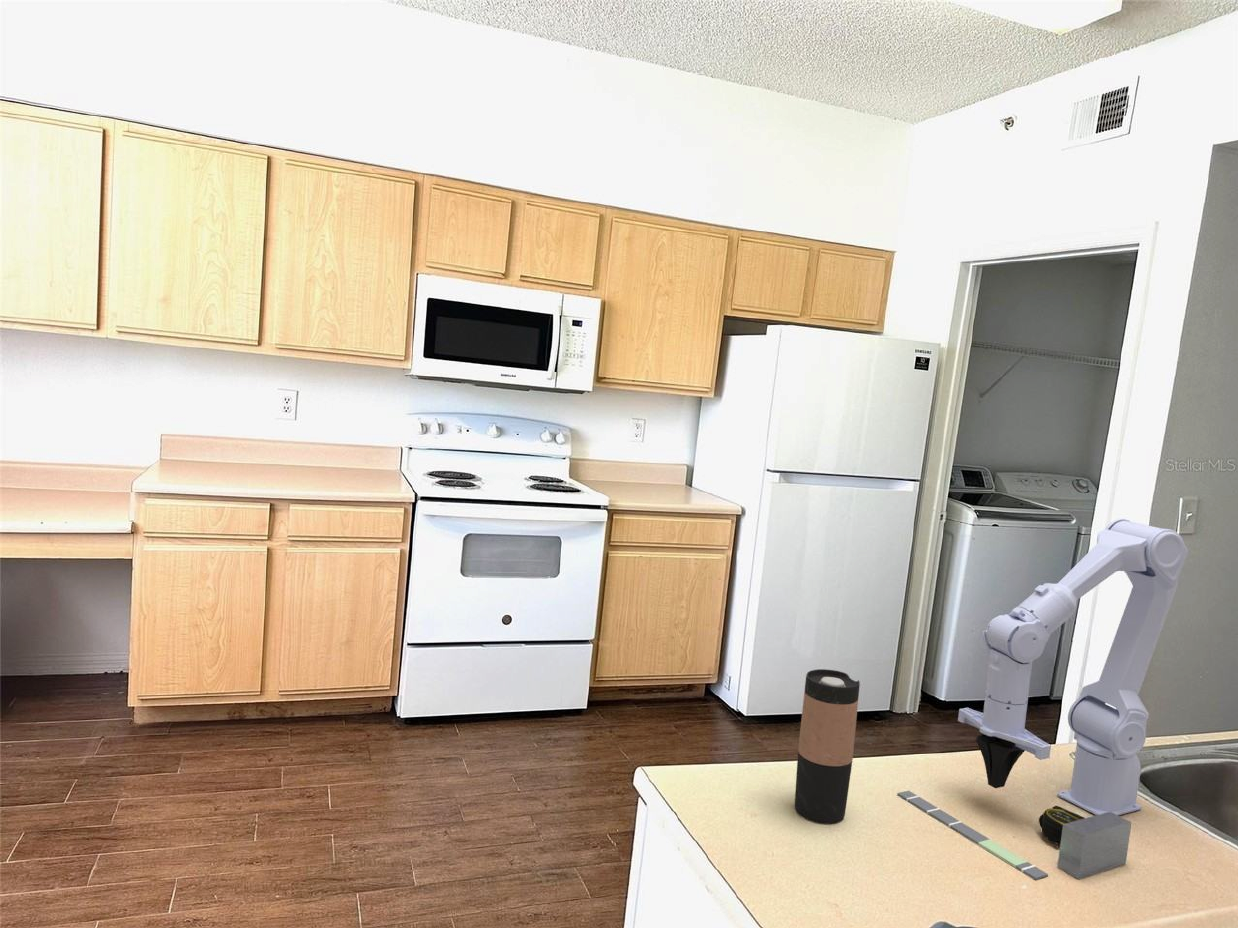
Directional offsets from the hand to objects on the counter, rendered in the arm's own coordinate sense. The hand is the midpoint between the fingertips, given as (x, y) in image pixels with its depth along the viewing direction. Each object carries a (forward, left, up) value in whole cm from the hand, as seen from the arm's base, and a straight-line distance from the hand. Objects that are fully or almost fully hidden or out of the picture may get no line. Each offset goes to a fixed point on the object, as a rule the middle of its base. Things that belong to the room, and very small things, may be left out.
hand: (996, 785), depth 130 cm
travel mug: (+26, -9, -4) cm, 28 cm away
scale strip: (+10, +3, -4) cm, 11 cm away
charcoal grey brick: (0, +16, -4) cm, 16 cm away
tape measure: (-3, +10, -4) cm, 11 cm away
